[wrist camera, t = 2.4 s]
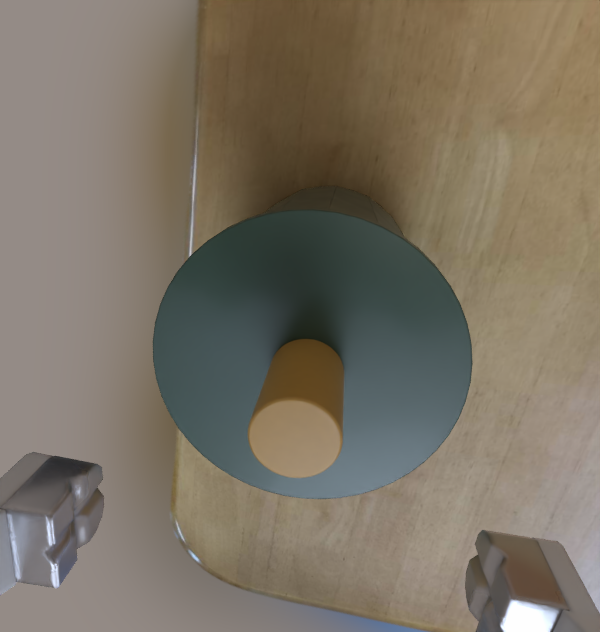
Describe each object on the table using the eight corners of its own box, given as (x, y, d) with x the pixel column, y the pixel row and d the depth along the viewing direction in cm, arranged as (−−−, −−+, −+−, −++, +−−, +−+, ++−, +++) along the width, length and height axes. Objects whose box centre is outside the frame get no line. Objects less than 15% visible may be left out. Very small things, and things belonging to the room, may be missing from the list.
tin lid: (142, 431, 19) (72, 528, 14) (197, 160, 15) (126, 168, 10) (397, 511, 19) (414, 634, 14) (519, 263, 15) (599, 318, 10)
